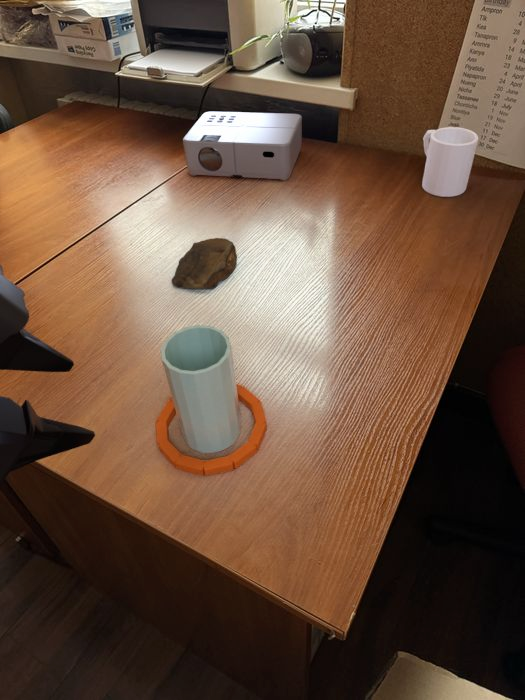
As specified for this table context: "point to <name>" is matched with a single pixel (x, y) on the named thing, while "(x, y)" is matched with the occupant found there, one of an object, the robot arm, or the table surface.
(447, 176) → the mug
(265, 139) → the projector
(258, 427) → the ring
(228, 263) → the decorative stone
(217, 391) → the cup
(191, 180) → the table surface
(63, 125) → the table surface
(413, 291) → the table surface
